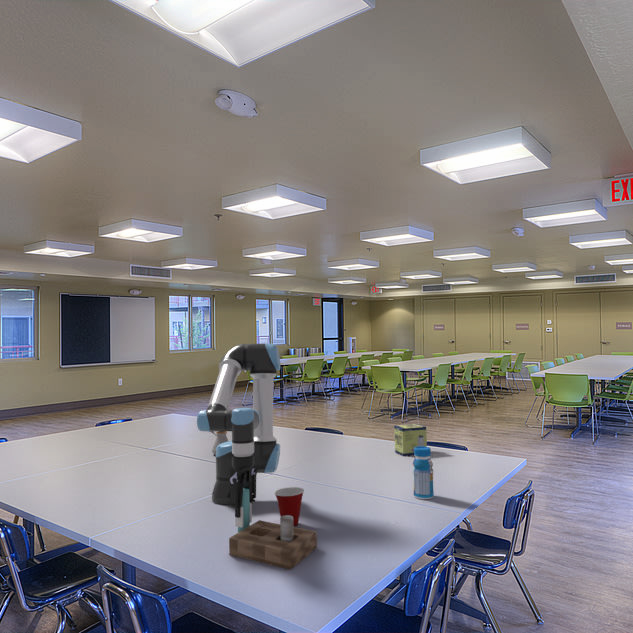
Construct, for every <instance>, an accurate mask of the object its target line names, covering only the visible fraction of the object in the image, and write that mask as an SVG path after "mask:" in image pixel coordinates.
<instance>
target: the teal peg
mask: <svg viewBox="0 0 633 633" xmlns="http://www.w3.org/2000/svg"><path fill="white" fill-rule="evenodd" d="M241 507H243V527H237V533H238V532H240V531H242V530H244V529H245V528H247V527H249V526H250V525H251V523H250V504H249V489H247V488H243V497H242V506H241Z"/></svg>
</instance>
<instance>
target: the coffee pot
mask: <svg viewBox="0 0 633 633" xmlns="http://www.w3.org/2000/svg"><path fill="white" fill-rule="evenodd" d="M211 433H212V434H213V435H214V436H215V440H214V442H213V445H212V448H211V451H212V453H213V454H214V455H215V456H216V448H217V446H218V445H220V444H222V443H224V442H228V441H229V439H228V436H227V433H228V431H217V432H211Z"/></svg>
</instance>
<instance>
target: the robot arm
mask: <svg viewBox="0 0 633 633" xmlns="http://www.w3.org/2000/svg"><path fill="white" fill-rule="evenodd" d="M218 370H219V371H218V372H219V373H218V375H217V379H216V381H215V385H214V387H213V390H212V392H211V393H212V394H211V396H210V399H209V402H208V406H207V409H204V410H200V411H199V412H198V413H197V416H196V427H197V429H198V431H200V432H207V433H212V432H214V433H216V432H219V431H227V432H231V440H230V441H229V440H228V442H224V443H222V444H220V445H218V446H217V448H216V455H215V473H216V474H215V483H214V486H213V490H212V493H211V501H212V502H213V503H215V504H220V505H230V507H231V508H234V517H235V527H237V528H238V527H243V507H241V506H242V497H243V488H247V489H249V504H250V524H251V523H252V521H253V520H252V519H253V516H252V515H253V514H252V513H253V512H252V511H253V503H255V502H256V498H257V474H272V473H275V472H276V471H277V470H278V468H279V467H278V466H279V461H280V456H281V444H280V443H278V442H277V441H278V440H277V438H276V437H275V436H274V378H275V377H277V374H278V372H279V371H280V370H281V357H280V353H279V348H278V346H277V345H276V344H274V343H268V342H267V343H266V342H265V343H241V344H238V345H235V346H234V347H232V348H230V349H229V350H228V351H227V352H226V353H225V354H224V355H223V356H222V357H221V359H220V362H219V365H218ZM242 371H243V372H249V376H250V377H251V378H252V379H253V380H252V408H251V407H238V408H234V409H230V410H229V407H230V404H231V399H232V397H233V396H232V395H233V393H234V390H235V386H236V383H237V379H238V376H240V375H241V372H242Z"/></svg>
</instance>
